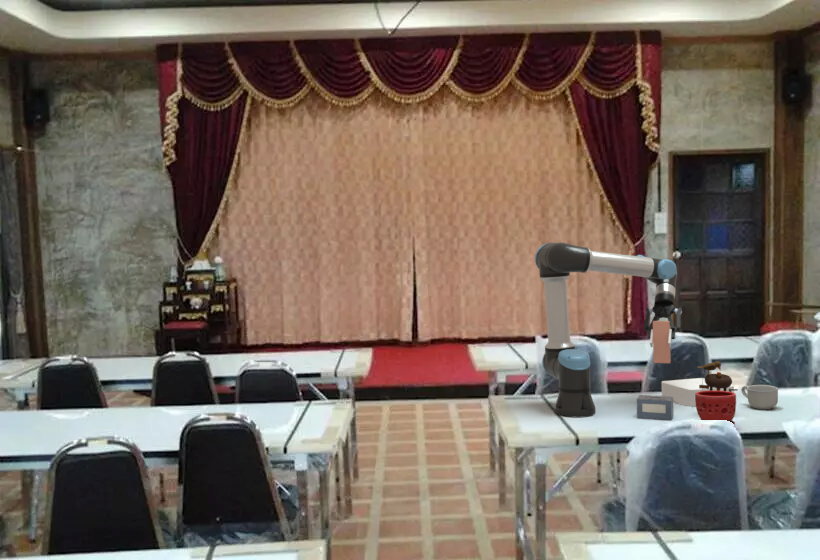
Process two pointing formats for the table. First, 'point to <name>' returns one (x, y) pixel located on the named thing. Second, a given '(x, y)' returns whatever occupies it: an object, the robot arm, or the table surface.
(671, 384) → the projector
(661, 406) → the block
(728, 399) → the plant pot
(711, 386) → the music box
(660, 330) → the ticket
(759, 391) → the teacup
